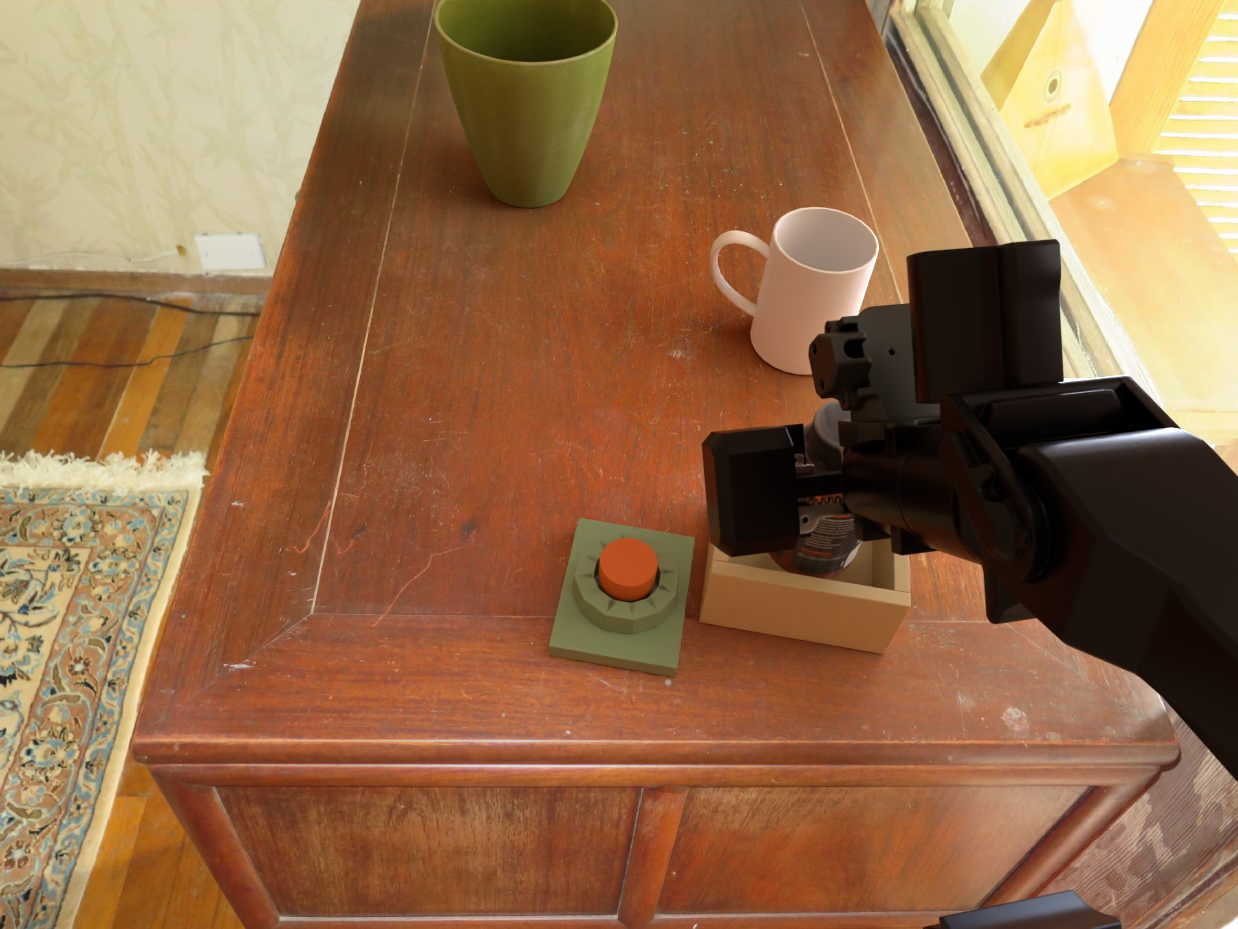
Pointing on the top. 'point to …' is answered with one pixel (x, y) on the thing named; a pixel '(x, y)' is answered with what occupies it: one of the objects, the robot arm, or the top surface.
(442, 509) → the top surface
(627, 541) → the button
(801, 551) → the supplement bottle
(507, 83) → the flower pot
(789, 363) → the mug
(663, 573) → the control block
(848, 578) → the shallow tan tray box
